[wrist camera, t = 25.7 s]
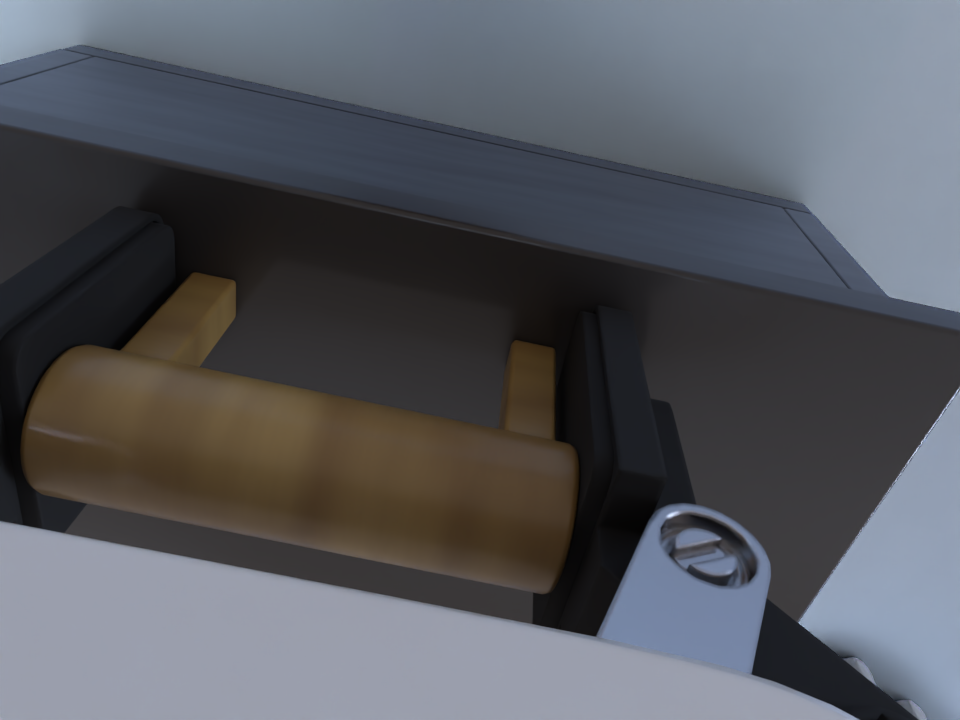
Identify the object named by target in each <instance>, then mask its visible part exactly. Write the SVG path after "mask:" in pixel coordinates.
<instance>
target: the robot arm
mask: <svg viewBox="0 0 960 720" xmlns="http://www.w3.org/2000/svg"><path fill="white" fill-rule="evenodd" d="M175 291H176V270H175V238H174V232H173V229H172V228H171V226H168V225H164V223H163V220H162V218H161V216H160V215H159V214H156V213H151V212H146V211H142V210H137V209H132V208H127V207H122V206H118V207H116V208H114V209H112V210H111V211H109V212H108V213H106V214H105V215H104V216H102V217H101V218H99V219H98V220H96V221H95V222H93V223H92V224H90V225H89V226H87V227H86V228H84V229H83V230H81V231H80V232H78V233H77V234H75V235H74V236H72V237H71V238H69V239H68V240H66V241H65V242H63V243H62V244H60V245H59V246H57V247H56V248H54V249H53V250H51V251H50V252H48V253H47V254H45V255H44V256H42V257H41V258H39V259H38V260H36V261H35V262H33V263H32V264H30V265H29V266H27V267H26V268H24V269H23V270H21V271H20V272H18V273H17V274H15V275H14V276H12V277H11V278H9V279H8V280H6V281H5V282H3V283H2V284H0V720H918V719H917V718H916V717H915V716H913V715H912V714H911V713H910V712H908V711H907V710H906V709H905V708H903V707H902V706H901V705H900V704H898V703H897V702H896V701H895V700H893V699H892V698H891V697H890V696H888V695H887V694H886V693H885V692H883V691H882V690H881V689H880V688H878V687H877V686H876V685H875V684H873V683H872V682H871V681H870V680H868V679H867V678H866V677H865V676H863V675H862V674H861V673H860V672H858V671H857V670H856V669H855V668H853V667H852V666H851V665H850V664H848V663H847V662H846V661H845V660H843V659H842V658H841V657H840V656H838V655H837V654H836V653H835V652H833V651H832V650H831V649H830V648H828V647H827V646H826V645H825V644H823V643H822V642H821V641H820V640H818V639H817V638H816V637H815V636H813V635H812V634H811V633H810V632H809V631H807V630H806V629H805V628H804V627H802V626H801V625H800V624H799V623H797V622H796V621H795V620H794V619H792V618H791V617H790V616H789V615H787V614H786V613H785V612H784V611H782V610H781V609H780V608H779V607H777V606H776V605H775V604H774V603H772V602H771V601H770V600H769V599H767V594H768V589H769V584H770V579H771V568H770V561H769V559H768V557H767V554H766V552H765V550H764V548H763V547H762V545H761V544H760V543H759V542H758V540H757V539H756V538H755V537H754V536H753V534H752V533H750V532H749V531H748V530H747V529H746V528H744V527H743V526H742V525H741V524H739V523H738V522H737V521H735V520H733V519H732V518H730V517H728V516H726V515H724V514H723V513H721V512H719V511H716V510H713V509H710V508H707V507H704V506H701V505H697V504H696V500H695V496H694V492H693V489H692V485H691V481H690V477H689V473H688V469H687V465H686V461H685V457H684V453H683V450H682V446H681V442H680V438H679V434H678V430H677V426H676V422H675V418H674V414H673V410H672V408H671V405H670V403H668V402H666V401H661V400H656V399H651V398H650V394H649V389H648V385H647V380H646V376H645V371H644V366H643V362H642V357H641V352H640V348H639V343H638V339H637V334H636V329H635V325H634V320H633V316H632V313H631V312H629V311H625V310H620V309H615V308H610V307H605V306H600V305H595V306H594V308H593V310H592V312H591V313H589V312H584V311H580V313H579V315H578V317H577V320H576V324H575V327H574V330H573V334H572V337H571V341H570V344H569V347H568V351H567V354H566V358H565V361H564V364H563V368H562V371H561V375H560V378H559V381H558V385H557V388H556V441H560V442H565V443H569V444H571V445H572V446H573V447H575V448H576V450H577V453H578V459H579V467H580V482H579V496H578V505H577V513H576V519H575V525H574V530H573V536H572V541H571V545H570V549H569V553H568V556H567V560H566V563H565V566H564V569H563V572H562V574H561V576H560V578H559V580H558V582H557V584H556V586H555V588H554V589H553V590H552V591H551V592H550V593H547V594H538V593H533V619H532V624H528V623H523V622H518V621H513V620H508V619H503V618H498V617H493V616H488V615H483V614H478V613H473V612H468V611H463V610H458V609H453V608H448V607H443V606H437V605H432V604H427V603H422V602H417V601H412V600H407V599H402V598H397V597H392V596H387V595H382V594H377V593H371V592H366V591H361V590H356V589H351V588H346V587H340V586H335V585H330V584H325V583H320V582H315V581H309V580H304V579H299V578H294V577H289V576H283V575H278V574H273V573H268V572H263V571H258V570H252V569H247V568H242V567H237V566H232V565H227V564H221V563H216V562H211V561H206V560H201V559H196V558H190V557H185V556H180V555H175V554H170V553H164V552H159V551H154V550H149V549H143V548H138V547H133V546H128V545H123V544H117V543H112V542H107V541H102V540H97V539H91V538H86V537H81V536H76V535H71V534H65V532H66V530H67V529H68V528H69V527H70V525H71V524H72V523H73V521H74V520H75V519H76V518H77V516H78V515H79V514H80V512H81V511H82V510H83V509H84V507H85V506H86V505H87V503H82V502H77V501H72V500H67V499H62V498H57V497H52V496H47V495H43V494H41V493H39V492H37V491H36V490H35V489H33V488H32V487H31V486H30V485H29V483H28V482H27V480H26V478H25V476H24V473H23V470H22V465H21V455H20V447H21V435H22V429H23V424H24V419H25V416H26V412H27V409H28V406H29V403H30V401H31V398H32V396H33V394H34V391H35V389H36V387H37V385H38V383H39V382H40V380H41V378H42V377H43V375H44V373H45V372H46V371H47V369H48V368H49V367H50V365H51V364H52V363H53V362H54V361H55V360H56V359H57V358H58V357H59V356H60V355H61V354H62V353H64V352H65V351H67V350H68V349H70V348H73V347H75V346H80V345H86V344H87V345H95V346H100V347H105V348H110V349H114V350H119V351H120V350H121V349H122V348H123V347H124V346H125V345H126V344H127V343H128V341H129V340H130V339H131V338H132V337H133V336H134V335H135V334H136V333H137V332H138V331H139V330H140V329H141V327H142V326H143V325H144V324H145V323H146V322H147V321H148V320H149V319H150V318H151V317H152V316H153V314H154V313H155V312H156V311H157V310H158V309H159V308H160V307H161V306H162V305H163V304H164V303H165V301H166V300H167V299H168V298H169V297H170V296H171V295H172V294H173V293H174V292H175Z"/></svg>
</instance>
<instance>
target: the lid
mask: <svg viewBox="0 0 960 720" xmlns="http://www.w3.org/2000/svg"><path fill="white" fill-rule="evenodd" d="M118 206H122V207H127V208H132V209H137V210H142V211H146V212H151V213H156V214H159V215H160V216H161V218H162V220H163V223H164V225H168V226H171V228H172V229H173V232H174V238H175V270H176V291H175V292H174V293H173V294H172V295H171V296H170V297H169V298H168V299H167V300H166V301H165V303H164V304H163V305H162V306H161V307H160V308H159V309H158V310H157V311H156V312H155V313H154V314H153V316H152V317H151V318H150V319H149V320H148V321H147V322H146V323H145V324H144V325H143V326H142V327H141V329H140V330H139V331H138V332H137V333H136V334H135V335H134V336H133V337H132V338H131V339H130V340H129V341H128V343H127V344H126V345H125V346H124V347H123V348H122V349H121V350H120V351H119V350H114V349H110V348H105V347H100V346H95V345H87V344H86V345H80V346H75V347H73V348H70V349H68V350H67V351H65V352H64V353H62V354H61V355H60V356H59V357H58V358H57V359H56V360H55V361H54V362H53V363H52V364H51V365H50V367H49V368H48V369H47V371H46V372H45V373H44V375H43V377H42V378H41V380H40V382H39V383H38V385H37V387H36V389H35V391H34V394H33V396H32V398H31V401H30V403H29V406H28V409H27V412H26V416H25V419H24V424H23V429H22V435H21V447H20V455H21V465H22V470H23V473H24V476H25V478H26V480H27V482H28V483H29V485H30V486H31V487H32V488H33V489H35V490H36V491H37V492H39V493H41V494H43V495H47V496H52V497H57V498H62V499H67V500H72V501H77V502H82V503H87V505H86V506H85V507H84V509H83V510H82V511H81V512H80V514H79V515H78V516H77V518H76V519H75V520H74V521H73V523H72V524H71V525H70V527H69V528H68V529H67V530H66V532H65V534H71V535H76V536H81V537H86V538H91V539H97V540H102V541H107V542H112V543H117V544H123V545H128V546H133V547H138V548H143V549H149V550H154V551H159V552H164V553H170V554H175V555H180V556H185V557H190V558H196V559H201V560H206V561H211V562H216V563H221V564H227V565H232V566H237V567H242V568H247V569H252V570H258V571H263V572H268V573H273V574H278V575H283V576H289V577H294V578H299V579H304V580H309V581H315V582H320V583H325V584H330V585H335V586H340V587H346V588H351V589H356V590H361V591H366V592H371V593H377V594H382V595H387V596H392V597H397V598H402V599H407V600H412V601H417V602H422V603H427V604H432V605H437V606H443V607H448V608H453V609H458V610H463V611H468V612H473V613H478V614H483V615H488V616H493V617H498V618H503V619H508V620H513V621H518V622H523V623H528V624H532V619H533V593H538V594H547V593H550V592H551V591H552V590H553V589H554V588H555V586H556V584H557V582H558V580H559V578H560V576H561V574H562V572H563V569H564V566H565V563H566V560H567V556H568V553H569V549H570V545H571V541H572V536H573V530H574V525H575V519H576V513H577V505H578V496H579V482H580V467H579V459H578V453H577V450H576V448H575V447H573V446H572V445H571V444H569V443H565V442H560V441H556V388H557V385H558V381H559V378H560V375H561V371H562V368H563V364H564V361H565V358H566V354H567V351H568V347H569V344H570V341H571V337H572V334H573V330H574V327H575V324H576V320H577V317H578V315H579V313H580V311H584V312H589V313H591V312H592V310H593V308H594V306H595V305H600V306H605V307H610V308H615V309H620V310H625V311H629V312H631V313H632V316H633V320H634V325H635V329H636V334H637V339H638V343H639V348H640V352H641V357H642V362H643V366H644V371H645V376H646V380H647V385H648V389H649V394H650V398H651V399H656V400H661V401H666V402H668V403H670V405H671V408H672V410H673V414H674V418H675V422H676V426H677V430H678V434H679V438H680V442H681V446H682V450H683V453H684V457H685V461H686V465H687V469H688V473H689V477H690V481H691V485H692V489H693V492H694V496H695V500H696V504H697V505H701V506H704V507H707V508H710V509H713V510H716V511H719V512H721V513H723V514H724V515H726V516H728V517H730V518H732V519H733V520H735V521H737V522H738V523H739V524H741V525H742V526H743V527H744V528H746V529H747V530H748V531H749V532H750V533H752V534H753V536H754V537H755V538H756V539H757V540H758V542H759V543H760V544H761V545H762V547H763V548H764V550H765V552H766V554H767V557H768V559H769V561H770V568H771V579H770V584H769V589H768V594H767V599H769V600H770V601H771V602H772V603H774V604H775V605H776V606H777V607H779V608H780V609H781V610H782V611H784V612H785V613H786V614H787V615H789V616H790V617H791V618H792V619H794V620H795V621H796V622H797V623H798V622H799V621H800V619H801V618H802V616H803V615H804V613H805V612H806V610H807V609H808V608H809V606H810V605H811V603H812V602H813V600H814V599H815V597H816V596H817V595H818V593H819V592H820V590H821V589H822V587H823V586H824V585H825V583H826V582H827V580H828V579H829V577H830V576H831V574H832V573H833V572H834V570H835V569H836V567H837V566H838V564H839V563H840V561H841V560H842V559H843V557H844V556H845V554H846V553H847V551H848V550H849V549H850V547H851V546H852V544H853V543H854V541H855V540H856V538H857V537H858V536H859V534H860V533H861V531H862V530H863V528H864V527H865V525H866V524H867V523H868V521H869V520H870V518H871V517H872V515H873V514H874V513H875V511H876V510H877V508H878V507H879V505H880V504H881V502H882V501H883V500H884V498H885V497H886V495H887V494H888V492H889V491H890V489H891V488H892V487H893V485H894V484H895V482H896V481H897V479H898V478H899V477H900V475H901V474H902V472H903V471H904V469H905V468H906V466H907V465H908V464H909V462H910V461H911V459H912V458H913V456H914V455H915V453H916V452H917V451H918V449H919V448H920V446H921V445H922V443H923V442H924V441H925V439H926V438H927V436H928V435H929V433H930V432H931V430H932V429H933V428H934V426H935V425H936V423H937V422H938V420H939V419H940V417H941V416H942V415H943V413H944V412H945V410H946V409H947V407H948V406H949V405H950V403H951V402H952V400H953V399H954V397H955V396H956V394H957V393H958V392H959V390H960V313H959V312H954V311H950V310H945V309H940V308H936V307H931V306H926V305H922V304H917V303H913V302H908V301H903V300H899V299H894V298H890V297H885V296H880V295H876V294H871V293H866V292H862V291H857V290H853V289H848V288H843V287H839V286H834V285H829V284H825V283H820V282H816V281H811V280H806V279H802V278H797V277H792V276H788V275H783V274H779V273H774V272H769V271H765V270H760V269H756V268H751V267H746V266H742V265H737V264H732V263H728V262H723V261H719V260H714V259H709V258H705V257H700V256H695V255H691V254H686V253H682V252H677V251H672V250H668V249H663V248H658V247H654V246H649V245H645V244H640V243H635V242H631V241H626V240H622V239H617V238H612V237H608V236H603V235H598V234H594V233H589V232H585V231H580V230H575V229H571V228H566V227H561V226H557V225H552V224H548V223H543V222H538V221H534V220H529V219H524V218H520V217H515V216H511V215H506V214H501V213H497V212H492V211H488V210H483V209H478V208H474V207H469V206H464V205H460V204H455V203H451V202H446V201H441V200H437V199H432V198H427V197H423V196H418V195H414V194H409V193H404V192H400V191H395V190H390V189H386V188H381V187H377V186H372V185H367V184H363V183H358V182H354V181H349V180H344V179H340V178H335V177H330V176H326V175H321V174H317V173H312V172H307V171H303V170H298V169H293V168H289V167H284V166H280V165H275V164H270V163H266V162H261V161H256V160H252V159H247V158H243V157H238V156H233V155H229V154H224V153H220V152H215V151H210V150H206V149H201V148H196V147H192V146H187V145H183V144H178V143H173V142H169V141H164V140H159V139H155V138H150V137H146V136H141V135H136V134H132V133H127V132H122V131H118V130H113V129H109V128H104V127H99V126H95V125H90V124H86V123H81V122H76V121H72V120H67V119H62V118H58V117H53V116H49V115H44V114H39V113H35V112H30V111H25V110H21V109H16V108H12V107H7V106H2V105H0V284H2V283H3V282H5V281H6V280H8V279H9V278H11V277H12V276H14V275H15V274H17V273H18V272H20V271H21V270H23V269H24V268H26V267H27V266H29V265H30V264H32V263H33V262H35V261H36V260H38V259H39V258H41V257H42V256H44V255H45V254H47V253H48V252H50V251H51V250H53V249H54V248H56V247H57V246H59V245H60V244H62V243H63V242H65V241H66V240H68V239H69V238H71V237H72V236H74V235H75V234H77V233H78V232H80V231H81V230H83V229H84V228H86V227H87V226H89V225H90V224H92V223H93V222H95V221H96V220H98V219H99V218H101V217H102V216H104V215H105V214H106V213H108V212H109V211H111V210H112V209H114V208H116V207H118Z"/></svg>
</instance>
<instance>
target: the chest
mask: <svg viewBox="0 0 960 720" xmlns="http://www.w3.org/2000/svg"><path fill="white" fill-rule="evenodd" d="M0 105H2V106H7V107H12V108H16V109H21V110H25V111H30V112H35V113H39V114H44V115H49V116H53V117H58V118H62V119H67V120H72V121H76V122H81V123H86V124H90V125H95V126H99V127H104V128H109V129H113V130H118V131H122V132H127V133H132V134H136V135H141V136H146V137H150V138H155V139H159V140H164V141H169V142H173V143H178V144H183V145H187V146H192V147H196V148H201V149H206V150H210V151H215V152H220V153H224V154H229V155H233V156H238V157H243V158H247V159H252V160H256V161H261V162H266V163H270V164H275V165H280V166H284V167H289V168H293V169H298V170H303V171H307V172H312V173H317V174H321V175H326V176H330V177H335V178H340V179H344V180H349V181H354V182H358V183H363V184H367V185H372V186H377V187H381V188H386V189H390V190H395V191H400V192H404V193H409V194H414V195H418V196H423V197H427V198H432V199H437V200H441V201H446V202H451V203H455V204H460V205H464V206H469V207H474V208H478V209H483V210H488V211H492V212H497V213H501V214H506V215H511V216H515V217H520V218H524V219H529V220H534V221H538V222H543V223H548V224H552V225H557V226H561V227H566V228H571V229H575V230H580V231H585V232H589V233H594V234H598V235H603V236H608V237H612V238H617V239H622V240H626V241H631V242H635V243H640V244H645V245H649V246H654V247H658V248H663V249H668V250H672V251H677V252H682V253H686V254H691V255H695V256H700V257H705V258H709V259H714V260H719V261H723V262H728V263H732V264H737V265H742V266H746V267H751V268H756V269H760V270H765V271H769V272H774V273H779V274H783V275H788V276H792V277H797V278H802V279H806V280H811V281H816V282H820V283H825V284H829V285H834V286H839V287H843V288H848V289H853V290H857V291H862V292H866V293H871V294H876V295H880V296H885V297H888V296H887V295H886V294H885V293H884V291H883V290H882V289H881V288H880V287H879V286H878V285H877V284H876V283H875V282H874V280H873V279H872V278H871V277H870V276H869V275H868V274H867V273H866V272H865V271H864V269H863V268H862V267H861V266H860V265H859V264H858V263H857V262H856V261H855V259H854V258H853V257H852V256H851V255H850V254H849V253H848V252H847V251H846V250H845V248H844V247H843V246H842V245H841V244H840V243H839V242H838V241H837V240H836V238H835V237H834V236H833V235H832V234H831V233H830V232H829V231H828V230H827V229H826V227H825V226H824V225H823V224H822V223H821V222H820V221H819V220H818V219H817V217H816V216H815V215H813V214H812V213H811V212H810V210H809V209H808V208H807V207H806V206H805V205H804V204H802V203H797V202H793V201H788V200H784V199H779V198H775V197H770V196H766V195H761V194H757V193H752V192H747V191H743V190H738V189H734V188H729V187H725V186H720V185H716V184H711V183H707V182H702V181H697V180H693V179H688V178H684V177H679V176H675V175H670V174H666V173H661V172H656V171H652V170H647V169H643V168H638V167H634V166H629V165H625V164H620V163H616V162H611V161H606V160H602V159H597V158H593V157H588V156H584V155H579V154H575V153H570V152H566V151H561V150H556V149H552V148H547V147H543V146H538V145H534V144H529V143H525V142H520V141H515V140H511V139H506V138H502V137H497V136H493V135H488V134H484V133H479V132H475V131H470V130H465V129H461V128H456V127H452V126H447V125H443V124H438V123H434V122H429V121H425V120H420V119H415V118H411V117H406V116H402V115H397V114H393V113H388V112H384V111H379V110H374V109H370V108H365V107H361V106H356V105H352V104H347V103H343V102H338V101H334V100H329V99H324V98H320V97H315V96H311V95H306V94H302V93H297V92H293V91H288V90H284V89H279V88H274V87H270V86H265V85H261V84H256V83H252V82H247V81H243V80H238V79H233V78H229V77H224V76H220V75H215V74H211V73H206V72H202V71H197V70H193V69H188V68H183V67H179V66H174V65H170V64H165V63H161V62H156V61H152V60H147V59H143V58H138V57H133V56H129V55H124V54H120V53H115V52H111V51H106V50H102V49H97V48H93V47H88V46H83V45H77V46H73V47H69V48H66V49H63V50H62V49H59V50H55V51H51V52H47V53H44V54H40V55H36V56H32V57H29V58H25V59H21V60H17V61H13V62H10V63H6V64H2V65H0Z"/></svg>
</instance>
